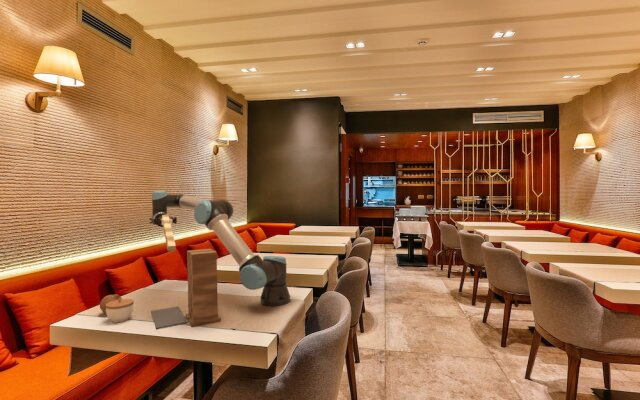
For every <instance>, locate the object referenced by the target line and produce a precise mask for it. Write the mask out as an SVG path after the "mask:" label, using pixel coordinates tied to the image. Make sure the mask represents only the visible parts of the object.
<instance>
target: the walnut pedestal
mask: <svg viewBox="0 0 640 400" xmlns="http://www.w3.org/2000/svg"><path fill="white" fill-rule="evenodd" d="M186 252H187V253H186V255H187V256H186V261H187V262H186V263H187V265H186V266H187V303H188V304H187V305H188V313H186V314H185V318H186V320H187V322H188V324H190V326H191V327H192V328H195V327H200V326H204V325H209V324H214V323H218V322H221V321H222V318H221V317H220V315H219V307H218V304H219V303H218V302H219V301H218V298H219V297H218V254H217V253H218V252H217V251H216V250H213V249H212V248H200V249H193V250H189V249H188V250H187V251H186Z"/></svg>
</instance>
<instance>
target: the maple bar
mask: <svg viewBox="0 0 640 400" xmlns="http://www.w3.org/2000/svg"><path fill="white" fill-rule="evenodd" d="M169 217H170V215H169V214H168V215H162V219H164V225H163V227H162V228H163V233H164V238H165V239H164V240H165V242H166V248H167V252H176V246H177V245H176V242H175V236H174V233H173V228H172V225H171V224H170V219H169Z"/></svg>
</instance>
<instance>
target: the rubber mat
mask: <svg viewBox="0 0 640 400" xmlns="http://www.w3.org/2000/svg"><path fill="white" fill-rule="evenodd" d="M150 313H151V317H152V320H153V323H154V325H155V329H156V330H159V329H160V330H161V329H165V328H170V327H174V326H179V325H184V324H185V325H186V324H189V322H188V320H187V318H186V316H185V315H184V313H183V312H182V310H181V308H180V306H179V305H178V306H177V305H176V306H172V307H167V308H162V309H161V308H160V309H155V310H151V311H150Z"/></svg>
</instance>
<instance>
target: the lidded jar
mask: <svg viewBox="0 0 640 400" xmlns="http://www.w3.org/2000/svg"><path fill="white" fill-rule="evenodd" d="M134 304H135V303H134V300H133V299H132V298H131V299H130V298H122V299H118V300H115V301H111V302H109V303H107V304H106V305H105V306H106V314H105V315H106V317H107V318H108V320H110V321H112V323H122V322H126V321H127V320H129V318H130V317H131V316H132V314H133V311H134Z"/></svg>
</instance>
